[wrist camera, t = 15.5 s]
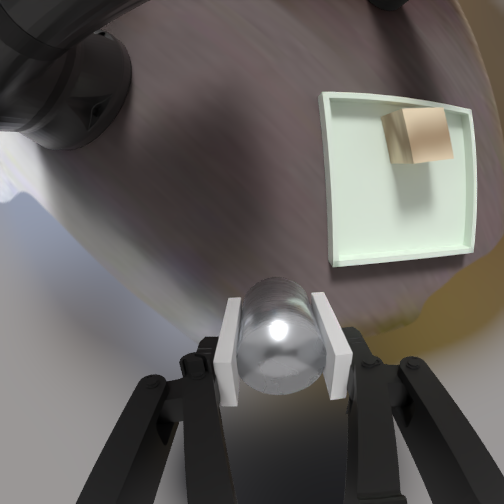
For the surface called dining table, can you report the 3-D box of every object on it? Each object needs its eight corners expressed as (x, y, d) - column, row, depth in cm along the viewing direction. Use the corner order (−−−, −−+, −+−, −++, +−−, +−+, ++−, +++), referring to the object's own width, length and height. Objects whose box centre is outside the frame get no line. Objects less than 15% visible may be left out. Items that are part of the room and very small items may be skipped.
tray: (328, 260, 30) (333, 267, 28) (317, 97, 25) (322, 91, 23) (463, 247, 29) (473, 252, 27) (460, 111, 24) (471, 109, 22)
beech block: (380, 116, 25) (401, 108, 20) (418, 114, 24) (443, 107, 20) (390, 163, 26) (413, 163, 21) (427, 158, 26) (453, 158, 21)
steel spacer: (232, 289, 19) (221, 339, 13) (298, 267, 18) (314, 311, 12) (255, 343, 20) (254, 403, 14) (316, 324, 19) (334, 380, 13)
